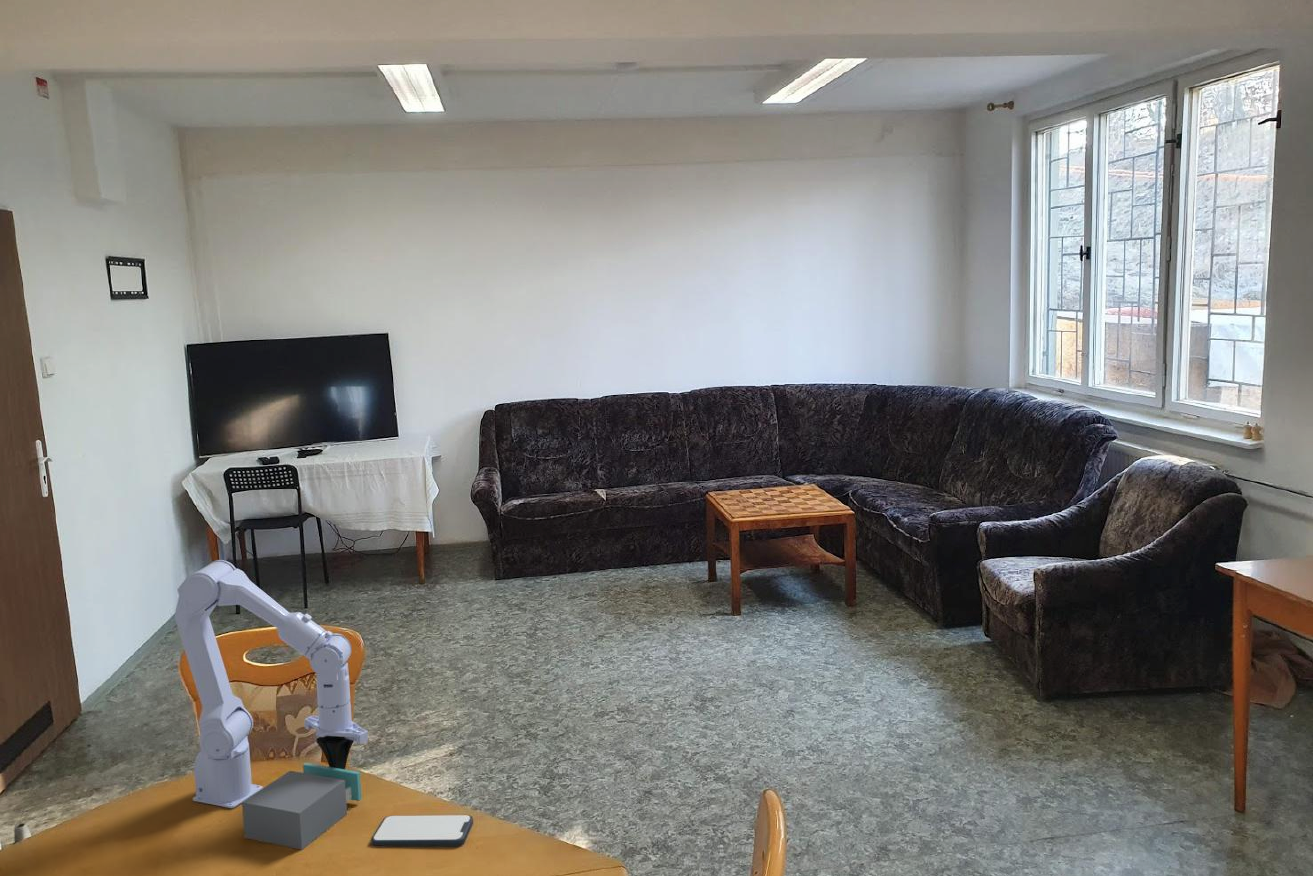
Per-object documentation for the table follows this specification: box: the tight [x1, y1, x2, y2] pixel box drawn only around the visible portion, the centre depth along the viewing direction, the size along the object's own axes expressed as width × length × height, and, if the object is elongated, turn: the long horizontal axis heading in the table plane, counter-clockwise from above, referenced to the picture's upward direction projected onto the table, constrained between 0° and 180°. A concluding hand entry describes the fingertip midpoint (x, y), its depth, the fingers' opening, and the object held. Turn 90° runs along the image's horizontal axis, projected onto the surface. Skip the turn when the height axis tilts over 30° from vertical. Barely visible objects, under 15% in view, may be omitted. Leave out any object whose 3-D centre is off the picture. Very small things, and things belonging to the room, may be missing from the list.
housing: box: [241, 770, 348, 851], centre depth 169 cm, size 12×12×6 cm
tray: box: [302, 762, 362, 803], centre depth 173 cm, size 12×12×5 cm
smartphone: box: [370, 814, 474, 848], centre depth 167 cm, size 9×2×16 cm
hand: (338, 771), depth 180 cm, fingers closed
